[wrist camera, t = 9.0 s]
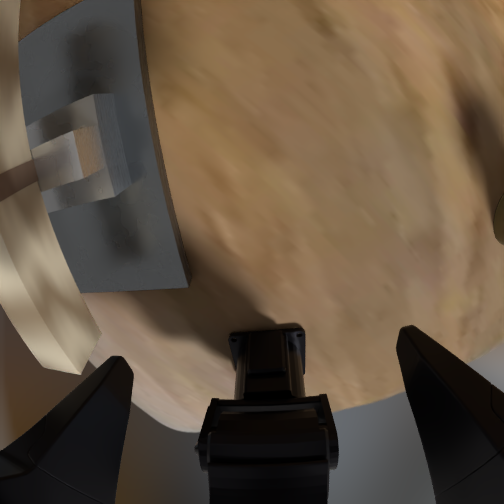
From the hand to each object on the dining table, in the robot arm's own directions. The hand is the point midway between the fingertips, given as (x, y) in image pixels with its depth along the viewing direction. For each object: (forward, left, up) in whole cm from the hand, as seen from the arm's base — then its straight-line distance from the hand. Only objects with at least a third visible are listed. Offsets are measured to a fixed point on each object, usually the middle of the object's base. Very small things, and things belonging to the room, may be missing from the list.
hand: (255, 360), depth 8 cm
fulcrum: (+6, +12, -12) cm, 18 cm away
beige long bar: (+6, +12, -6) cm, 15 cm away
